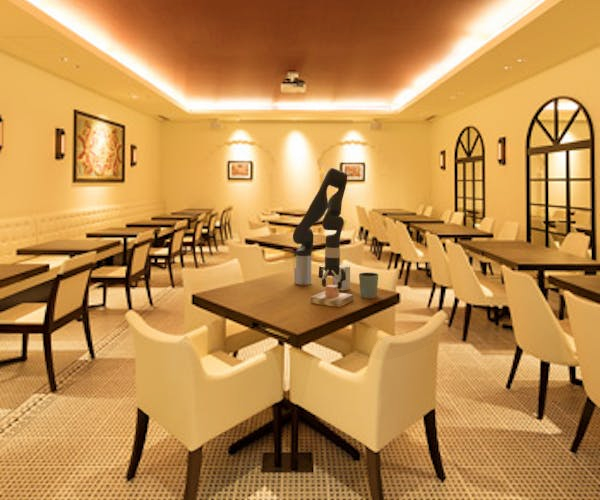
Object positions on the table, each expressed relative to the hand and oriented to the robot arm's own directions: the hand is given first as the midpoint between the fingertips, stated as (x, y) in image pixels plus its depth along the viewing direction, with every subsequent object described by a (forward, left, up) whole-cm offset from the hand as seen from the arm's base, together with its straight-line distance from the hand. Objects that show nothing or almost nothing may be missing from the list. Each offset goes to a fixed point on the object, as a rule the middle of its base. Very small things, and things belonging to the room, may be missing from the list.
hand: (331, 287), depth 235 cm
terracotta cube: (0, 0, -4) cm, 4 cm away
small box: (-9, +28, -7) cm, 30 cm away
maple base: (0, 0, -7) cm, 7 cm away
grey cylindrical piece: (+11, +20, -7) cm, 24 cm away
